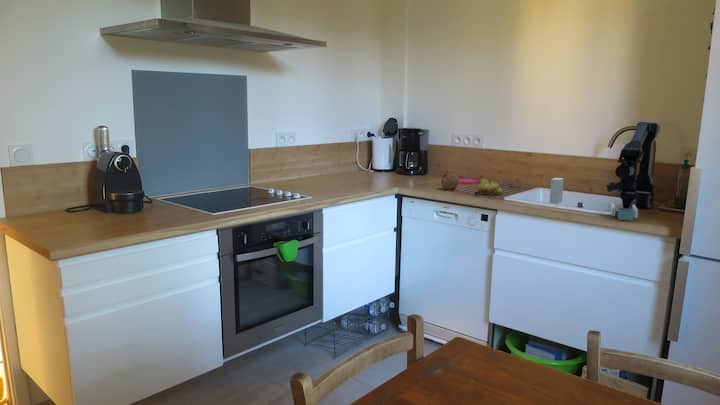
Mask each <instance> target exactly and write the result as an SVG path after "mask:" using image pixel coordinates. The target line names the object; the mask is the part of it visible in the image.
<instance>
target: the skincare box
mask: <svg viewBox="0 0 720 405" xmlns="http://www.w3.org/2000/svg"><path fill="white" fill-rule="evenodd" d="M550 180H551V181H550V189H549V191H550V192H549V202H548V203H549V204H553V205H554V204H555V205H558V204H562V202H563V193H564V180H565V178H563V177H562V178H561V177H553V178H551V179H550Z"/></svg>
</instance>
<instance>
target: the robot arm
mask: <svg viewBox="0 0 720 405" xmlns="http://www.w3.org/2000/svg"><path fill="white" fill-rule="evenodd" d="M636 124H637V125H636V129H635V131H634V133H633V136H632V138H631V140H630V141H629V142H627V143H626V144H624V146H623V148H622V149H621V151H620V153H619V157H618V159H617V163H620V164H619V165H618V166H617V167H616V168H615V171H614V172H615V175H616V177H617V178H618V179H619V180H616V181H612V182H608V183H606V184H605V186H606V190H607V192H608V193H610V192H613V191H617V193H618V197H619V198H620V199H621V203H622V208H630V206H632V205H635V206H636V208H640V209H641V208H642V209H651V206H650V199H651V198H650V197H652V196H655V195H656V186H655V182H654V178H653V175H652V173H651V168H652V166H651V165H652V156H653V148H654V146H653V145H654V141H655V140H656V139H657V137H658V136H659V133H660V131H661V126H660V124H658V122H647V121H639V122H638V123H636ZM638 165H639V166H638ZM638 167H639V170H638ZM634 201H635V202H634ZM633 202H634V203H633ZM632 203H633V204H632ZM631 204H632V205H631Z"/></svg>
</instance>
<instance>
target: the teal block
mask: <svg viewBox="0 0 720 405" xmlns="http://www.w3.org/2000/svg"><path fill="white" fill-rule="evenodd" d="M617 209H618V212H617V220H619V221H634V210H633V209H632V207H631V208H630V207H629V208H623V207H621V206H619V207H618V208H617Z"/></svg>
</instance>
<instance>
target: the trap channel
mask: <svg viewBox="0 0 720 405" xmlns="http://www.w3.org/2000/svg"><path fill="white" fill-rule="evenodd" d="M609 208H610V209H609V210H610V213H611V212H612V214H611V217H616V212H615V211H616V210H618V208H616V206H615V203H614V202H611V203H610V207H609ZM631 208H632V209H633V210H634V216H633V219H638V216H639V210H638V207H636V206H635V205H633V204H632V205H631Z"/></svg>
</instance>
